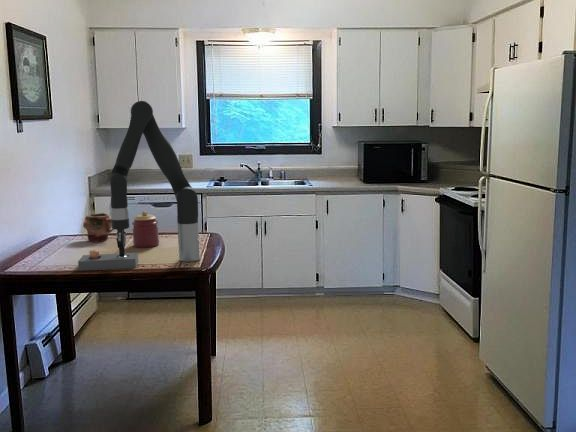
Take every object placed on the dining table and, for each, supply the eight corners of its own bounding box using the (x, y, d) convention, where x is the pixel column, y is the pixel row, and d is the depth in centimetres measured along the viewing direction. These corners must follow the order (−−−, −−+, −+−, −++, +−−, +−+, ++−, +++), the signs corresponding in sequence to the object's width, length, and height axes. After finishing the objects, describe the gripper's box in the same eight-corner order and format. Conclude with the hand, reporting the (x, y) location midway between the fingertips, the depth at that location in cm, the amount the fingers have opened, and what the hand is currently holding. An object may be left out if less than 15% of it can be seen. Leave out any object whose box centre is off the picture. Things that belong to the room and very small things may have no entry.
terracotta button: (100, 256, 274) (99, 249, 273) (98, 258, 270) (98, 251, 269) (90, 256, 273) (90, 250, 273) (89, 258, 269) (88, 252, 269)
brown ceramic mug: (123, 238, 331) (122, 213, 329) (111, 243, 320) (110, 217, 317) (90, 237, 336) (88, 212, 334) (77, 242, 325) (75, 216, 322)
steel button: (128, 261, 276) (127, 255, 275) (127, 263, 272) (126, 257, 271) (119, 262, 275) (118, 255, 275) (118, 264, 271) (117, 257, 271)
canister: (161, 246, 310) (159, 212, 307) (135, 249, 306) (133, 214, 303) (157, 241, 322) (155, 208, 319) (131, 244, 317) (129, 210, 314)
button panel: (138, 261, 281) (137, 252, 280) (135, 267, 269) (135, 258, 268) (83, 263, 277) (83, 255, 276) (78, 270, 265) (78, 261, 265)
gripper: (127, 220, 264) (129, 259, 267) (130, 214, 277) (132, 252, 280) (109, 220, 263) (111, 260, 266) (113, 215, 276) (115, 253, 279)
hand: (122, 256), depth 273 cm, fingers closed
